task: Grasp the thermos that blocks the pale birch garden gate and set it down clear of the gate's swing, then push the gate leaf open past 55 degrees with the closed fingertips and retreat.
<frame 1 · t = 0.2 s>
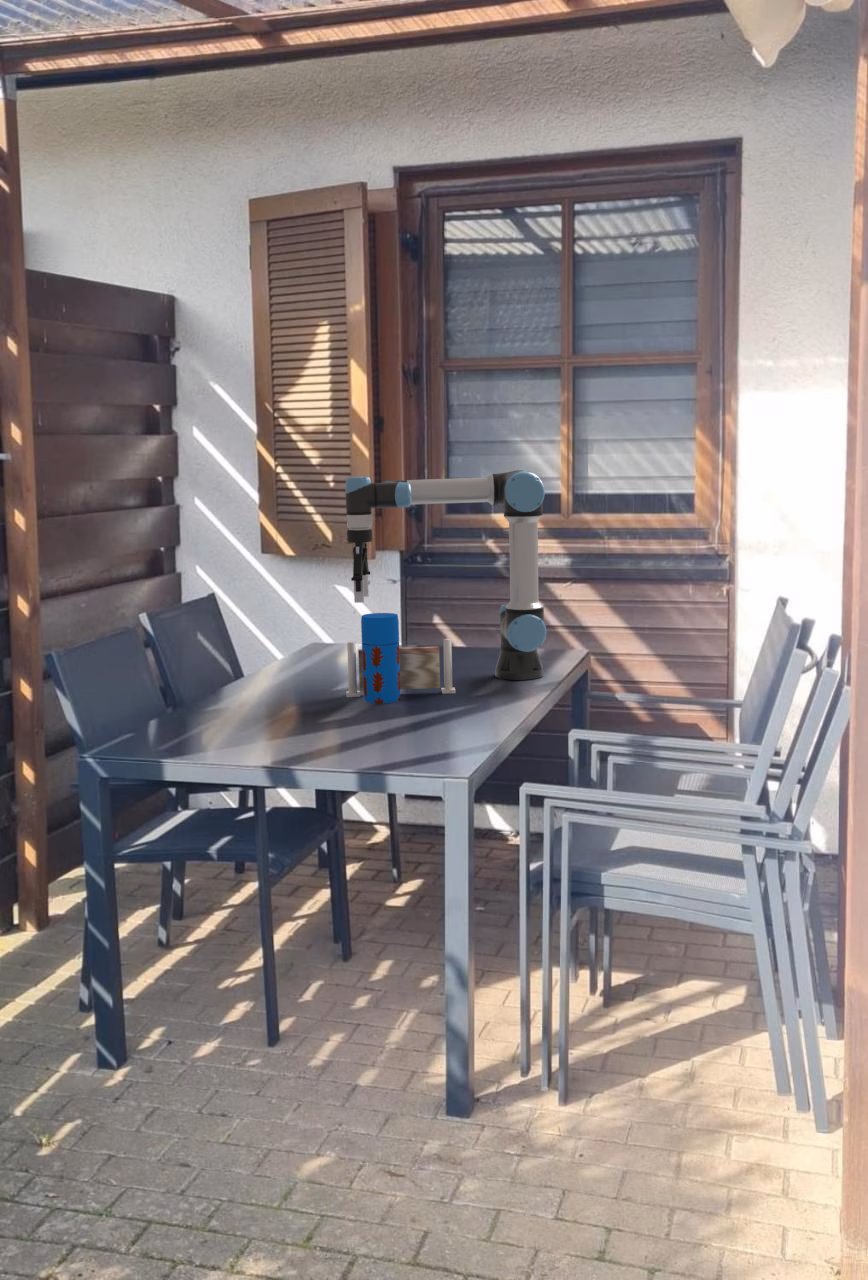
hand: (361, 599, 415), 28 cm above the table, fingers open, 13 cm apart
thermos: (382, 700, 404), on the table
gate posts: (401, 693, 412), on the table
gate: (399, 668, 411), point 8 cm above the table, hinge at 0.0°
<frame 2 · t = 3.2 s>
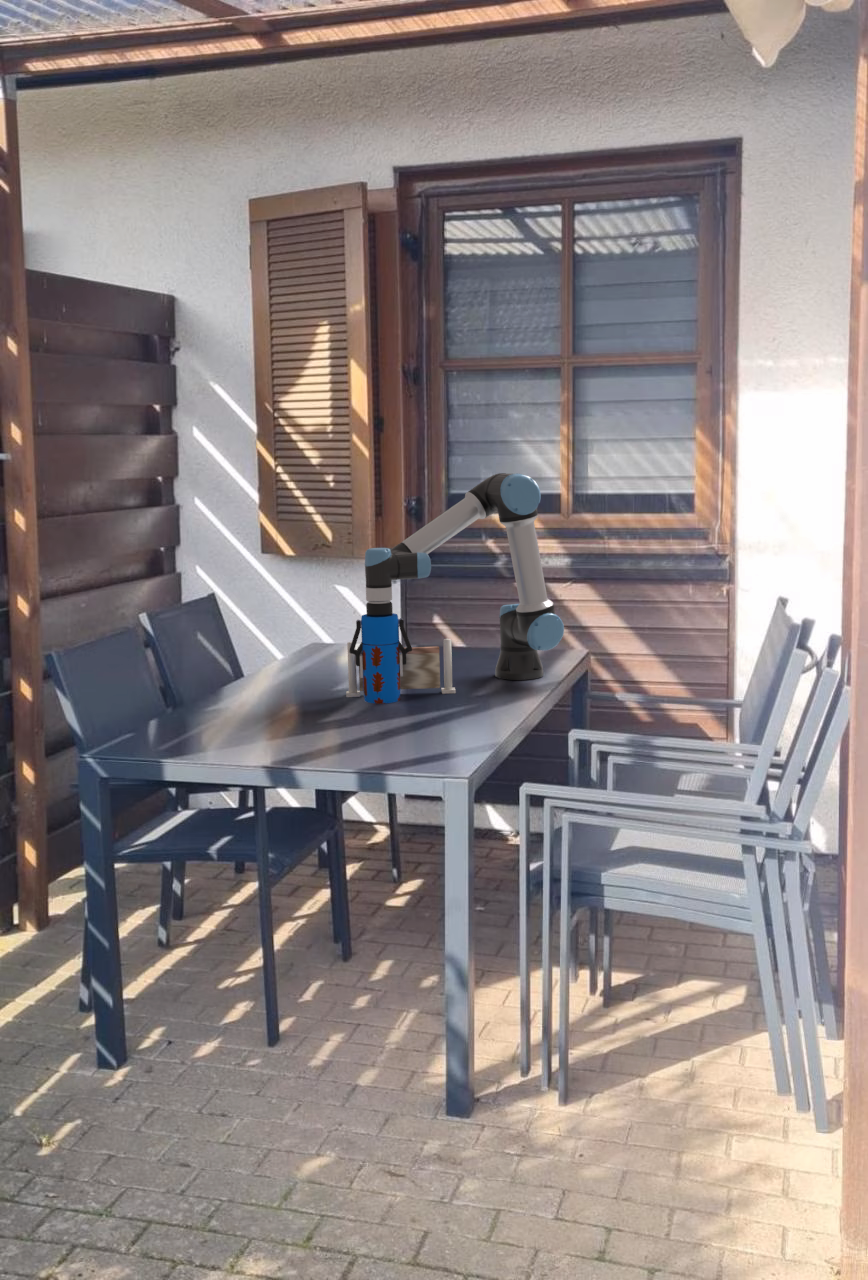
hand: (381, 676, 403), 7 cm above the table, fingers closed on thermos, 11 cm apart
thermos: (382, 700, 404), on the table, touching gripper
everything else where it was.
when the fingers open (8 cm above the table, at t = 9.7 s): thermos drops 1 cm, on the table.
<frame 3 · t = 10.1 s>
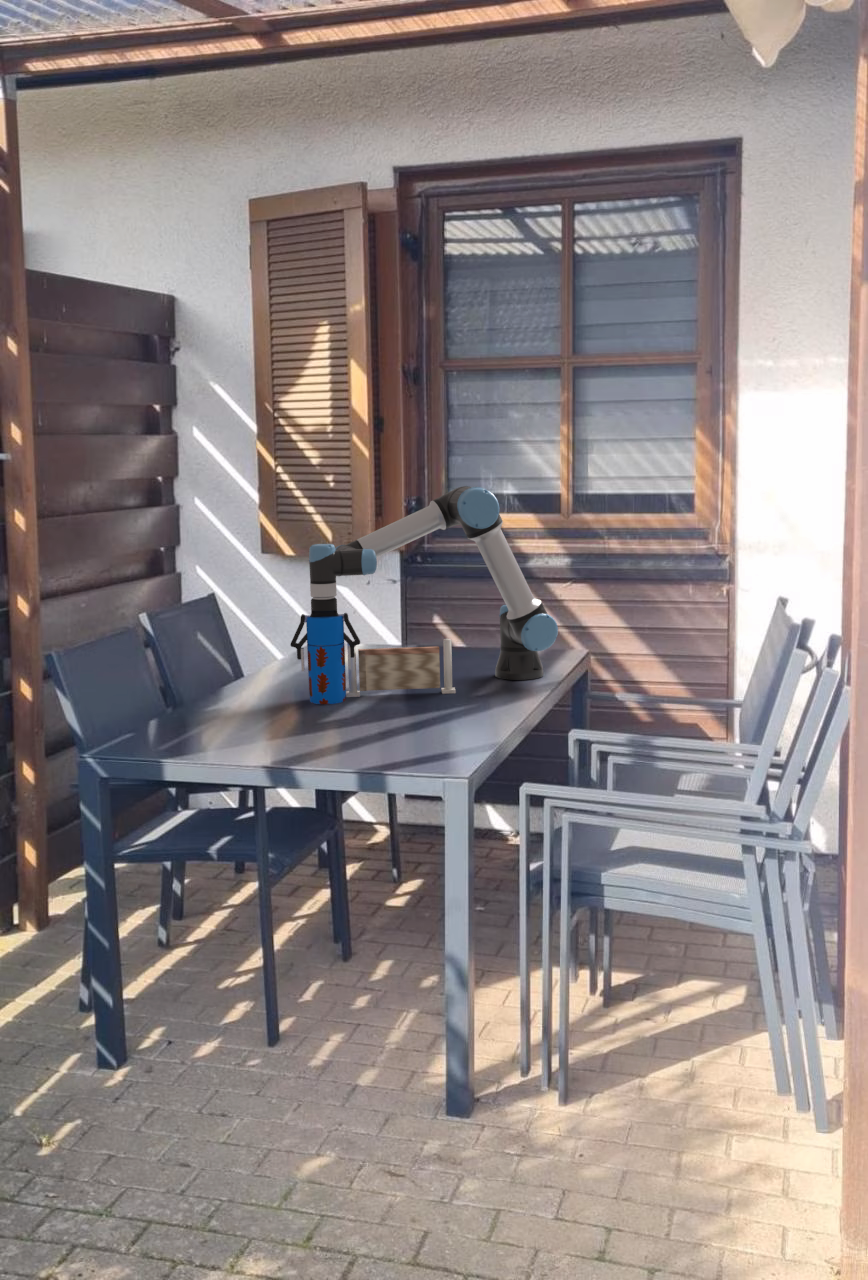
hand: (326, 669, 403), 9 cm above the table, fingers open, 13 cm apart
thermos: (327, 701, 405), on the table
everything else where it was.
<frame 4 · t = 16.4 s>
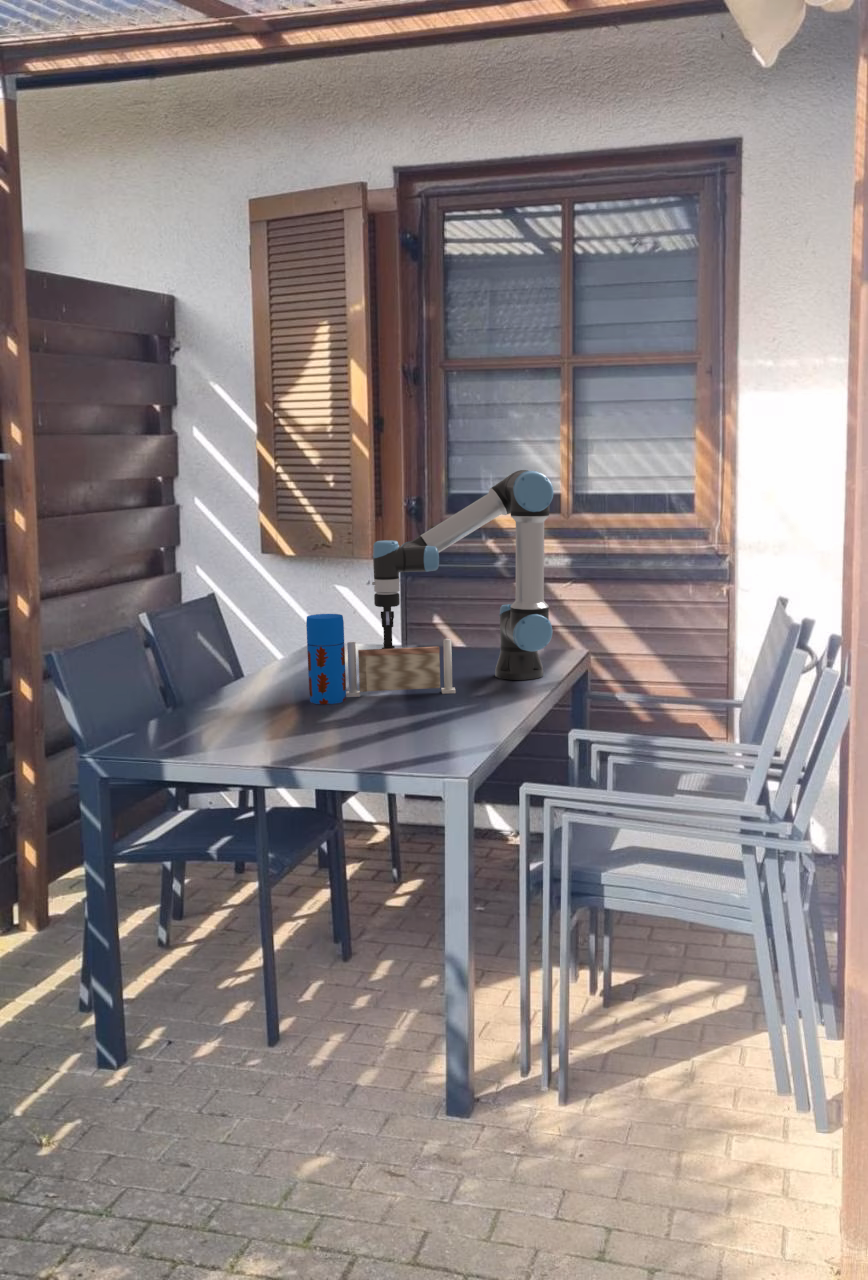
hand: (388, 670, 415), 7 cm above the table, fingers closed
gate: (399, 669, 410), point 8 cm above the table, hinge at 2.9°, touching gripper
everything else where it was.
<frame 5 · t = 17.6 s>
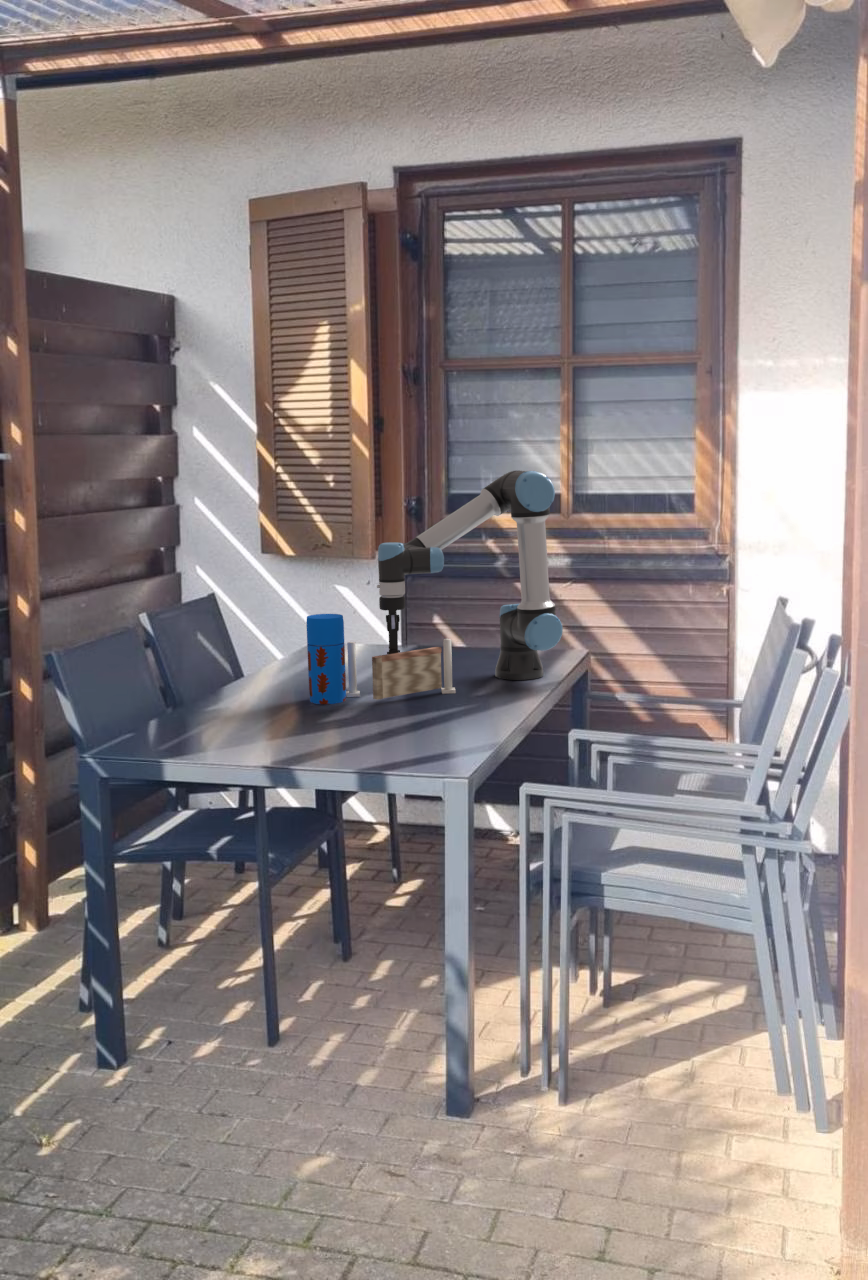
hand: (394, 675, 406), 7 cm above the table, fingers closed
gate: (407, 672, 404), point 8 cm above the table, hinge at 34.9°, touching gripper, hand
everything else where it was.
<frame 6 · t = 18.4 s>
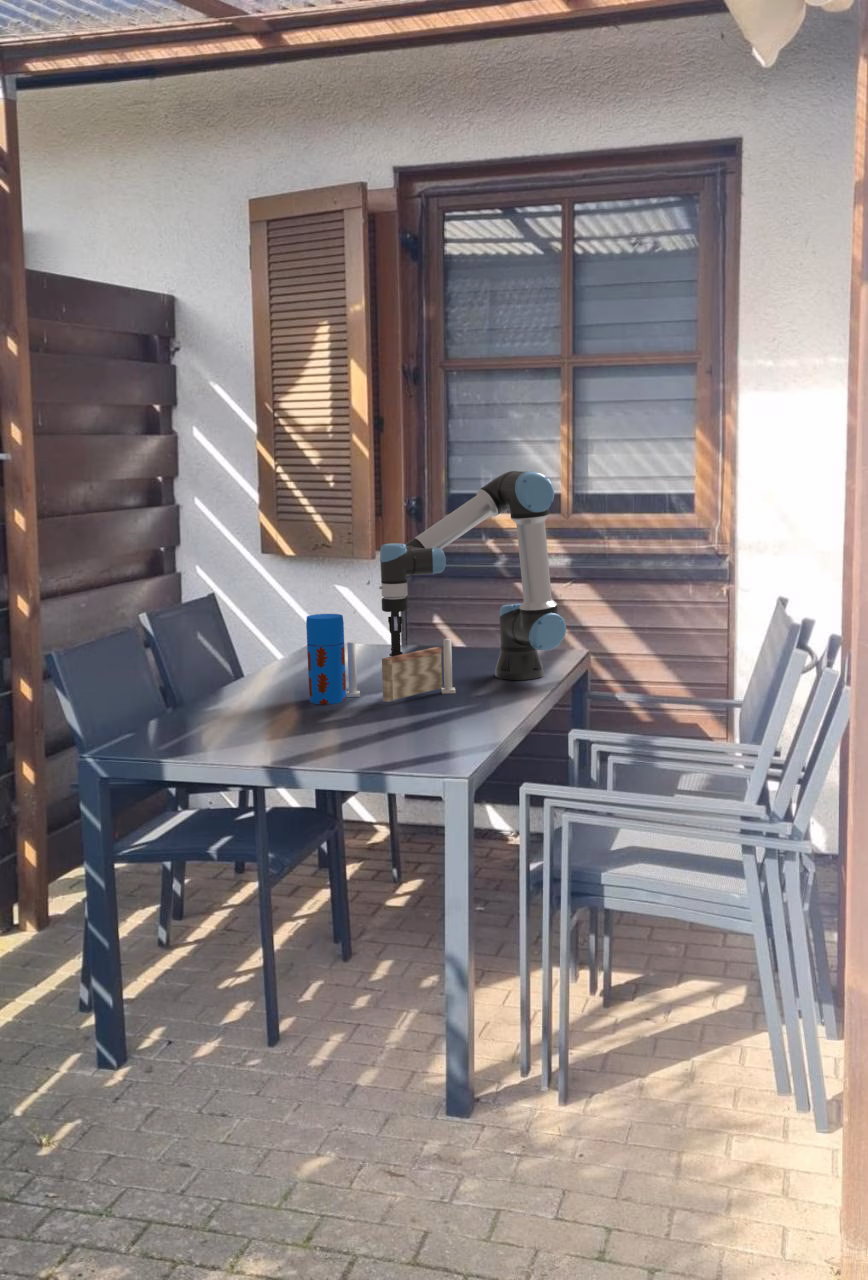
hand: (396, 677, 403), 7 cm above the table, fingers closed
gate: (413, 673, 402), point 8 cm above the table, hinge at 45.3°, touching gripper, hand
everything else where it was.
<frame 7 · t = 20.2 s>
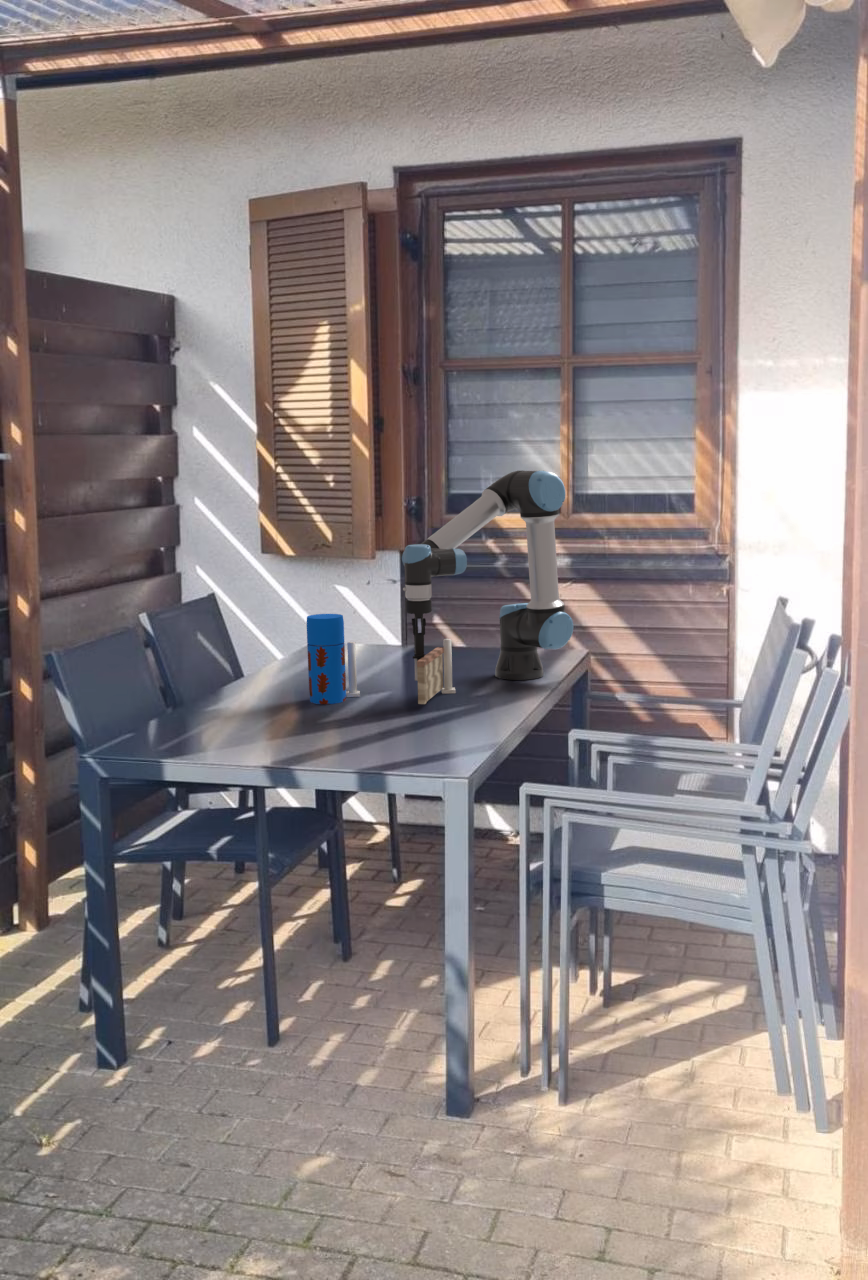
hand: (419, 680, 398), 7 cm above the table, fingers closed
gate: (431, 674, 400), point 8 cm above the table, hinge at 72.8°, touching hand
everything else where it was.
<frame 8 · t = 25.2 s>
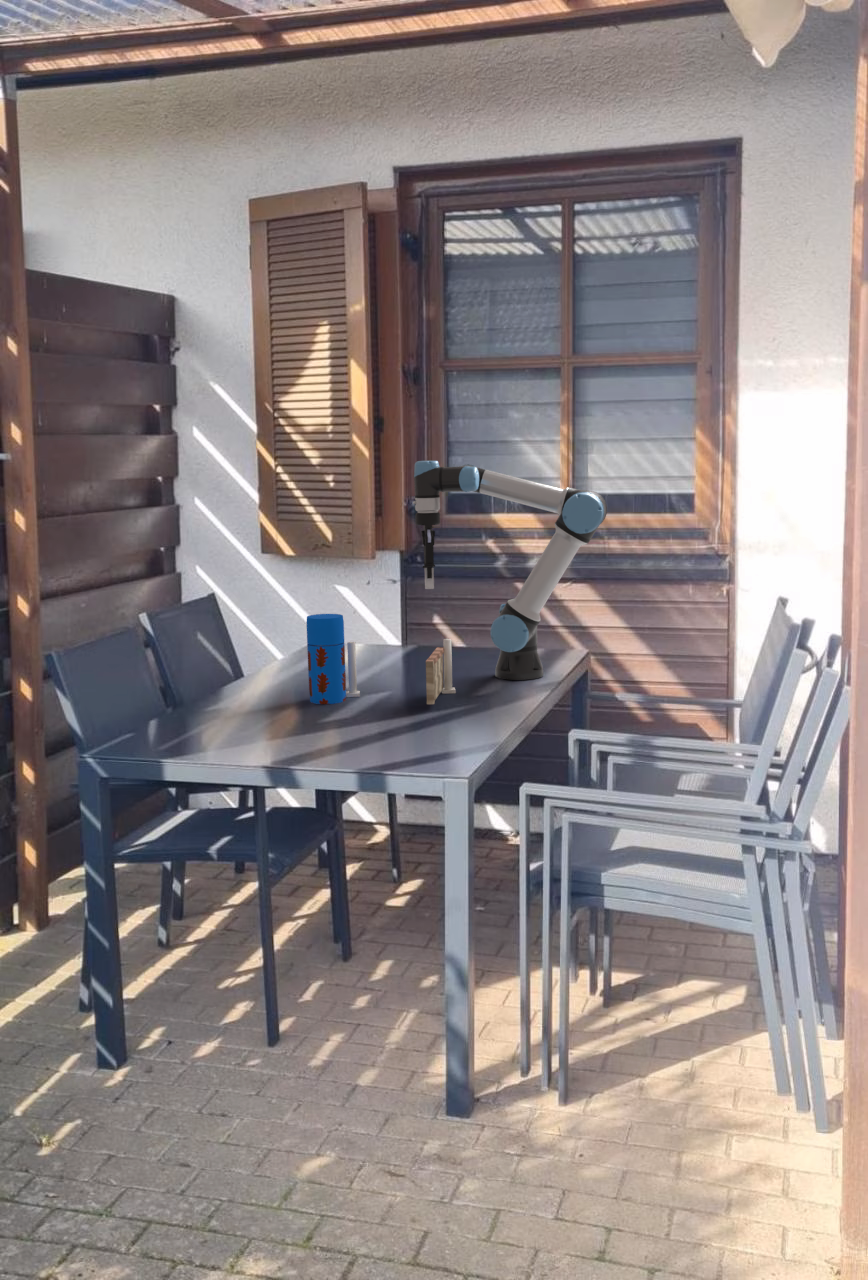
hand: (429, 588, 424), 29 cm above the table, fingers closed
gate: (435, 674, 399), point 8 cm above the table, hinge at 78.7°
everything else where it was.
at the end: gate at +79° (first picture: +0°); thermos tilted 0°; thermos moved 16.0 cm from its start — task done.
